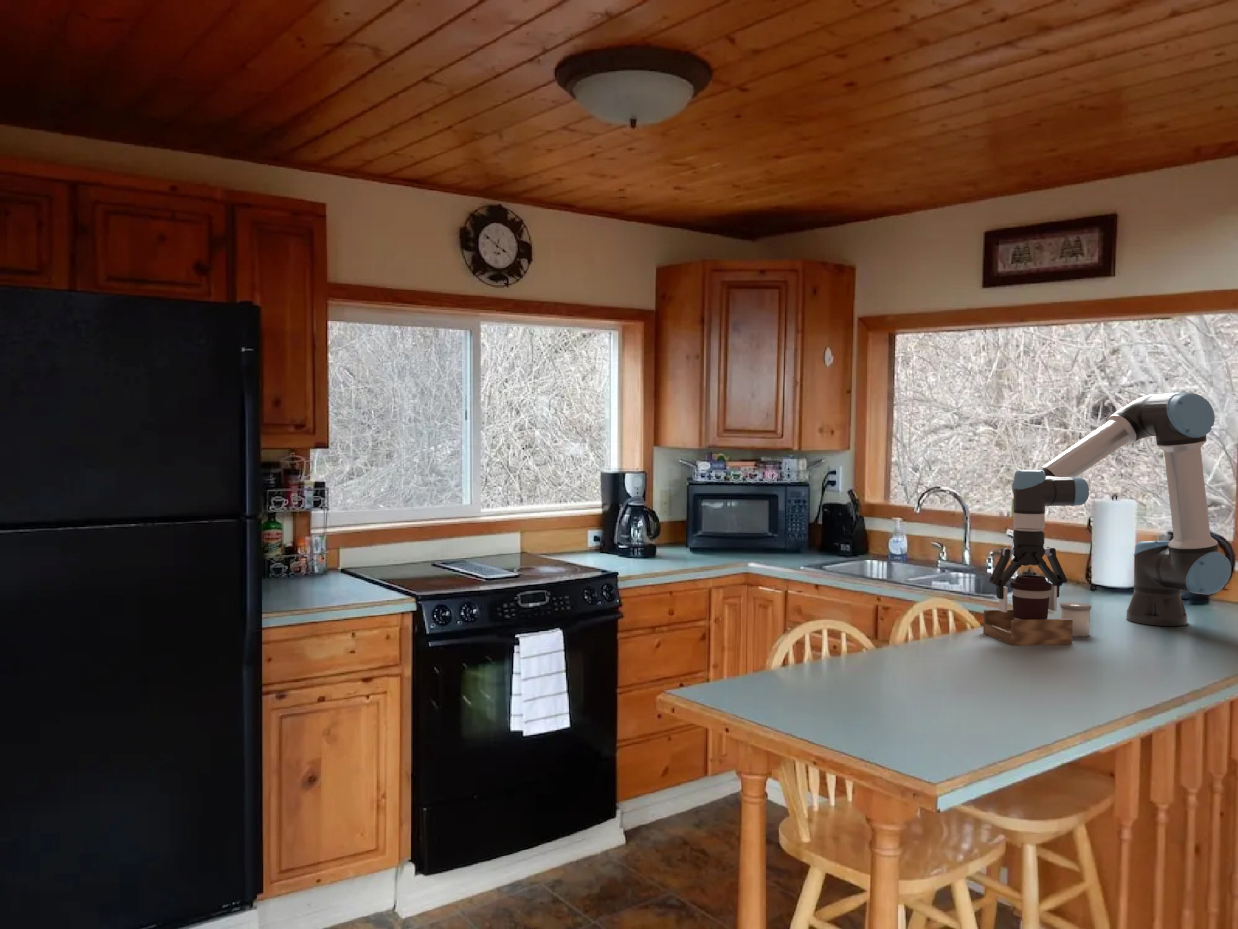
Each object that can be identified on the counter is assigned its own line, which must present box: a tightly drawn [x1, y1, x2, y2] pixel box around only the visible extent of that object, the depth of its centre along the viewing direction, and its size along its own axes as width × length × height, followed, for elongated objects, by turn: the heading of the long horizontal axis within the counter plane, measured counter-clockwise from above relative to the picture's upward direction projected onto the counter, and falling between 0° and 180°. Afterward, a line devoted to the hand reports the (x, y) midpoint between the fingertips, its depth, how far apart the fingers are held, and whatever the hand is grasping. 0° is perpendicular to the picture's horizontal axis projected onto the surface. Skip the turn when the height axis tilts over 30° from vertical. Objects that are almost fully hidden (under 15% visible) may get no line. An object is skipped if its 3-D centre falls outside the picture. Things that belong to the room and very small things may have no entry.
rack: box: [982, 608, 1073, 646], centre depth 253 cm, size 16×15×6 cm
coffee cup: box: [1009, 574, 1052, 620], centre depth 253 cm, size 10×10×15 cm
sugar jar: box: [1059, 601, 1092, 637], centre depth 259 cm, size 8×8×8 cm
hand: (1027, 610), depth 253 cm, fingers open, 13 cm apart
